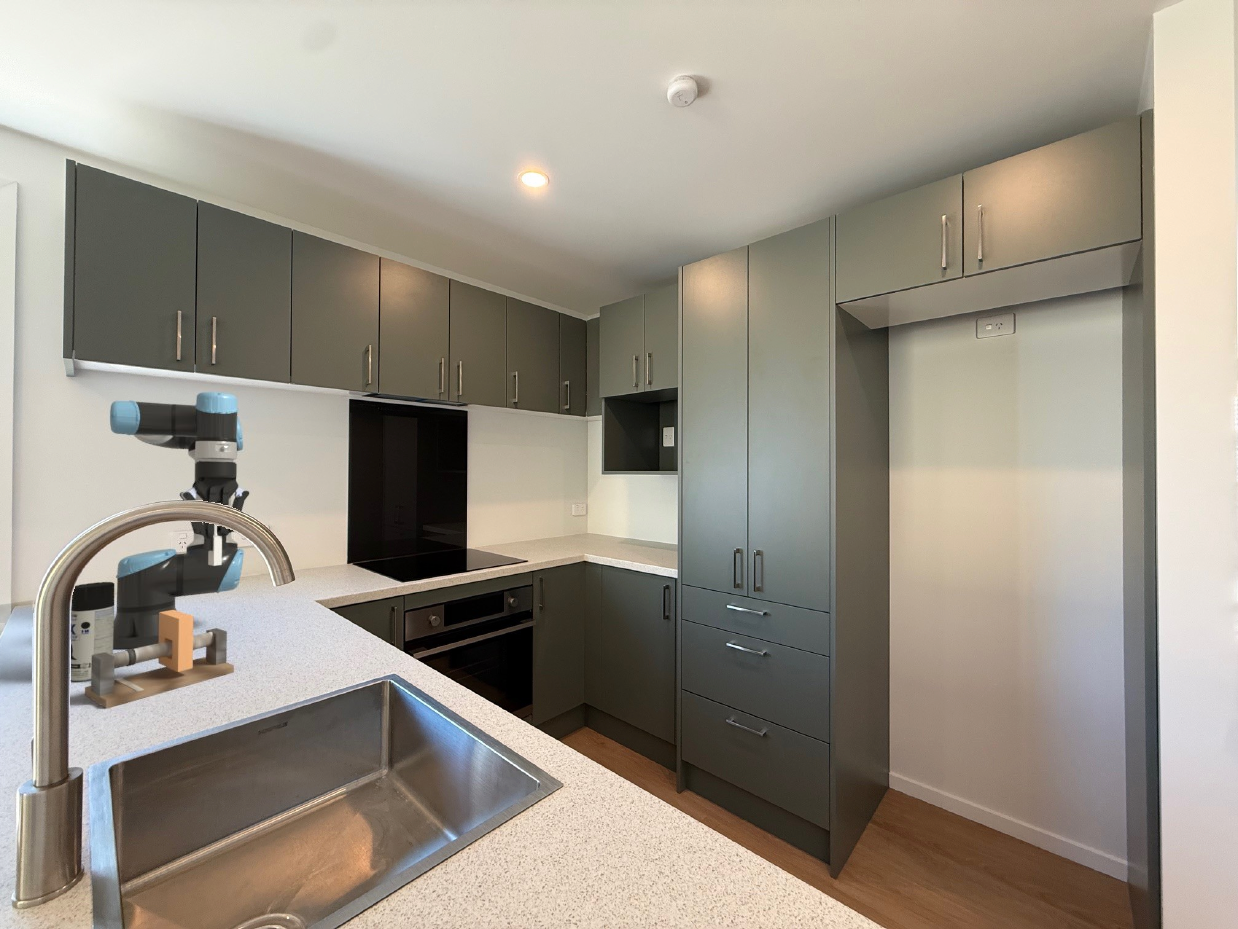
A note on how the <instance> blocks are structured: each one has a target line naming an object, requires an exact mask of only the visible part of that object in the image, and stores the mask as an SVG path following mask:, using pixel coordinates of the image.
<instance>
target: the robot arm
mask: <svg viewBox="0 0 1238 929" xmlns="http://www.w3.org/2000/svg"><path fill="white" fill-rule="evenodd" d="M195 399H196V402H195V405H194V404H177V403H175V404H174V403H160V402H147V401H135V400H115V401H112V403H111V404H110V410H109V422H110V423H109V424H110V430H111V431H112V433H113V434H116V435H126V436H134V437H135V438H136V439H137V440H139V441H141V442H142V443H144V444H148V445H152V446H156V447H161V448H167V449H171V450H172V449H173V450H174V449H175V450H188V451H187V454H188V456H189V457H190V458H191V459H193V461H194V482H193V483H192V487H191V488H190V489H188V490H186V491H182V492H180V493H179V496H180V498H181V499H182V501H184V500H203V501H208V502H215V503H221V504H223V505H228V506H231V508H232V507H233V508H236V509H238V510H240V511H241V512H242V511H243V508H244V503H245V501H246V499H247V498H248V497H249V495H250V491H248V490H244V489H243V488H240V487H239V483H238V482H237V477H238V476H237V472H238V471H237V469H238V468H237V467H238V466H237V465H238V464H237V463H236V462H235V461H234V460H237V459H238V458H237V457H238V452H239V451H242V450H243V449H244V439H243V430H242V425H241V422H240V418H239V417H238V411H239V408H238V398H237V397H236V396H235V395H233V394H231V393H225V392H217V391H216V392H213V391H211V392H209V391H208V392H207V391H206V392H205V391H204V392H199V393H198V394H197V395H196V398H195ZM233 495H234V499H233V501H232V496H233ZM190 525H191V528H192V531H193V540H192V541H191V543H189V544H188V545H186V549H185V550H186V553H178V552H177V551H176V549H175V548H166V549H158V550H151V551H147V552H141V553H136V554H132V555H129V556H125V557H123V558H122V559H120V561H119V562H118V564H117V570H116V571H117V574H116V576H115V578H116V579H117V580H116V581H117V582H116V584H117V585H116V586H117V587H116V588H117V589H116V614H115V616H114V631H113V650H114V649H116V650H117V649H118V650H119V649H121V650H123V649H125V650H126V649H132V648H133V649H135V648H140V647H144V646H149V645H154V644H158V643H159V612H164V611H170V610H176V611H178V610H177V608H176V598H178V597H179V598H180V597H188V596H196V595H204V594H214V593H217V594H219V593H222V592H228V591H233V590H235V589H237V587H238V586H239V583H240V581H241V575H242V569H243V563H244V553H245V551H244V549H243V548H242V549H241V548H238V547H239V546H238V545H239V544H238V542H237V541H235V540H234V539H232V533H235V532H234V531H233V530H230V529H226V528H225V527H222V526H215V525H214V524H209V523H205V522H203V523H202V522H191V521H190Z"/></svg>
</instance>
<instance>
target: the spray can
mask: <svg viewBox="0 0 1238 929" xmlns="http://www.w3.org/2000/svg"><path fill="white" fill-rule="evenodd" d="M74 586H75V589H74V592H73V595H72V594H71V607H70V611H71V612H70V639H71V680H70V682H73V683H78V682H77V681H83V682H89V680H90V681H91V664H92V655H94V654H99V653H104V652H106V653H108V654H113V653H114V648H113V631H114V619H115V582H112V581H103V582H102V581H101V582H98V581H97V582H92V583H91V582H90V583H83V584H77V585H74ZM75 681H76V682H75Z"/></svg>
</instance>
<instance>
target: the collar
mask: <svg viewBox="0 0 1238 929" xmlns="http://www.w3.org/2000/svg"><path fill="white" fill-rule="evenodd" d="M176 610H177V609H176ZM176 610H170V611H164V612H159V643H163V642H167V641H172V655H170V656H166V657H161V658H157V659H158V664H160V665H162V666H163V667H168V668H170V669H173V670H175V671H177V672H180V671H184V670H187V669H191V668H193V660H194V658H193V657H194V656H193V655H194V650H193V636H194V615H191V614H187V613H186V612H185V613H184V612H182V611H178V610H177V611H176Z"/></svg>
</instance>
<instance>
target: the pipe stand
mask: <svg viewBox="0 0 1238 929" xmlns="http://www.w3.org/2000/svg"><path fill="white" fill-rule="evenodd" d="M227 641H228V632H227V630H223V629H220V628H217V627H216V628H210V629H206V631H205V633H200V634H195V635H193V651H195V650H198V649H204V648H205V656H204V657H203V656H202V657H199V658H196V659H193V668H191V669H187V670H184V671H180V672H177V671H175V670H173V669H170V668H168V667H166V666H163V667H159V668H155V669H151V670H148V671H144V672H140V673H136V674H131V675H128V676H125V677H118V678H115V669H118V668H119V669H120V668H123V667H131V666H134V665H136V664H140V663H144V662H149V661H153V660H156V659H158V658H161V657H166V656H170V655H172V641H167V642H163V643H158V644H154V645H149V646H144V647H136V648H126V649H125V650H122V651H117V652H113V654H108V653H106V652H104V653H99V654H94V655H92V664H91V680H90V685H89V686H85V687H84V695H85V696H86V697H87V698H89V697H90V699H91V700H93V701H94V702H95V703H97V704H99V705H101V706H102V707H103V708H105V709H108V708H110V709H111V708H113V707H116V706H119V705H123V704H126V703H131V702H134V701H137V700H142V699H144V698H148V697H151V696H154V695H155V696H156V695H158V694H162V693H166V692H169V691H173V690H177V689H179V688H182V687H183V688H184V687H186V686H190V685H194V684H198V683H200V682H204V681H208V680H211V679H214V678H215V679H216V678H218V677H222V676H225V675H228V674H233V673H234V672H235V671H234V670H235V665H234V664H231V663H228V662H227V651H228V650H227V649H228V647H227V646H228V645H227V644H228V642H227Z"/></svg>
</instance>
